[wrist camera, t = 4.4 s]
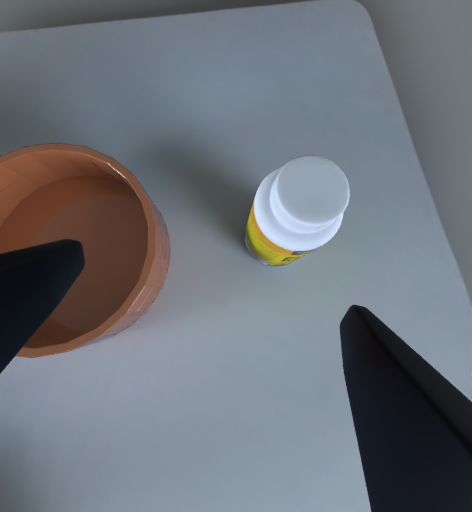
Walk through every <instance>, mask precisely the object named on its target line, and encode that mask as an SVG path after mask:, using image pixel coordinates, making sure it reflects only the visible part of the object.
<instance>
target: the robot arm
mask: <svg viewBox="0 0 472 512" xmlns="http://www.w3.org/2000/svg"><path fill="white" fill-rule="evenodd" d="M84 266H85V258H84V252H83V246H82V243H81V242H80V241H76V240H72V239H62V240H58V241H54V242H49V243H45V244H41V245H36V246H32V247H27V248H23V249H19V250H14V251H10V252H6V253H1V254H0V373H1V372H2V371H3V370H4V369H5V367H6V366H7V365H8V364H9V363H10V362H11V360H12V359H13V358H14V357H15V356H16V355H17V353H18V352H19V351H20V350H21V349H22V348H23V346H24V345H25V344H26V343H27V342H28V341H29V339H30V338H31V337H32V336H33V335H34V334H35V332H36V331H37V330H38V329H39V328H40V327H41V325H42V324H43V323H44V322H45V321H46V320H47V318H48V317H49V316H50V315H51V314H52V313H53V311H54V310H55V309H56V308H57V306H58V305H59V304H60V302H61V301H62V300H63V298H64V297H65V295H66V294H67V292H68V291H69V289H70V288H71V287H72V285H73V284H74V282H75V281H76V279H77V278H78V276H79V275H80V273H81V272H82V271H83V269H84ZM340 336H341V348H342V359H343V369H344V376H345V381H346V386H347V391H348V396H349V401H350V406H351V411H352V416H353V421H354V426H355V431H356V436H357V441H358V446H359V451H360V456H361V461H362V466H363V471H364V476H365V481H366V486H367V491H368V496H369V501H370V506H371V511H372V512H472V402H471V401H470V400H469V399H468V398H467V397H466V396H465V395H463V394H462V393H461V392H460V391H459V390H458V389H457V388H456V387H454V386H453V385H452V384H451V383H450V382H449V381H448V380H447V379H445V378H444V377H443V376H442V375H441V374H440V373H439V372H438V371H437V370H435V369H434V368H433V367H432V366H431V365H430V364H429V363H428V362H426V361H425V360H424V359H423V358H422V357H421V356H420V355H419V354H418V353H416V352H415V351H414V350H413V349H412V348H411V347H410V346H409V345H407V344H406V343H405V342H404V341H403V340H402V339H401V338H400V337H398V336H397V335H396V334H395V333H394V332H393V331H392V330H391V329H390V328H388V327H387V326H386V325H385V324H384V323H383V322H382V321H381V320H379V319H378V318H377V317H376V316H375V315H374V314H373V313H372V312H371V311H369V310H368V309H367V308H366V307H363V306H358V305H352V306H351V307H350V308H349V309H348V311H347V313H346V314H345V316H344V318H343V319H342V321H341V323H340Z"/></svg>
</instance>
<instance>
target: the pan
mask: <svg viewBox="0 0 472 512" xmlns="http://www.w3.org/2000/svg"><path fill="white" fill-rule="evenodd" d="M62 239H72V240H76V241H80V242H81V243H82V246H83V252H84V258H85V266H84V269H83V271H82V272H81V273H80V275H79V276H78V278H77V279H76V281H75V282H74V284H73V285H72V287H71V288H70V289H69V291H68V292H67V294H66V295H65V297H64V298H63V300H62V301H61V302H60V304H59V305H58V306H57V308H56V309H55V310H54V311H53V313H52V314H51V315H50V316H49V317H48V318H47V320H46V321H45V322H44V323H43V324H42V325H41V327H40V328H39V329H38V330H37V331H36V332H35V334H34V335H33V336H32V337H31V338H30V339H29V341H28V342H27V343H26V344H25V345H24V346H23V348H22V349H21V350H20V351H19V352H18V353H17V355H16V356H19V357H28V358H37V357H42V356H48V355H53V354H59V353H64V352H69V351H72V350H75V349H78V348H81V347H84V346H87V345H90V344H93V343H97V342H99V341H101V340H103V339H106V338H108V337H110V336H113V335H115V334H117V333H118V332H120V331H122V330H124V329H125V328H127V327H128V326H130V325H131V324H132V323H134V322H135V321H136V320H137V319H138V318H139V317H140V316H141V315H142V314H144V313H145V311H146V310H147V309H148V308H149V307H150V305H151V304H152V303H153V301H154V300H155V298H156V297H157V295H158V293H159V291H160V289H161V287H162V285H163V283H164V280H165V277H166V274H167V271H168V265H169V258H170V244H169V236H168V232H167V228H166V225H165V222H164V220H163V217H162V215H161V213H160V212H159V210H158V209H157V207H156V206H155V204H154V203H153V201H152V200H151V198H150V197H149V195H148V194H147V193H146V191H145V190H144V189H143V187H142V186H141V184H140V183H139V182H138V180H137V179H136V177H135V176H134V175H133V174H132V173H131V172H129V171H128V170H127V169H126V168H124V167H123V166H122V165H121V164H120V163H118V162H117V161H116V160H115V159H113V158H112V157H110V156H107V155H105V154H102V153H100V152H98V151H95V150H93V149H90V148H88V147H85V146H78V145H70V144H62V143H51V144H42V145H34V146H27V147H23V148H20V149H18V150H15V151H12V152H10V153H7V154H5V155H2V156H0V254H1V253H6V252H10V251H14V250H19V249H23V248H27V247H32V246H36V245H41V244H45V243H49V242H54V241H58V240H62Z"/></svg>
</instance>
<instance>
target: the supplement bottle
mask: <svg viewBox="0 0 472 512" xmlns="http://www.w3.org/2000/svg"><path fill="white" fill-rule="evenodd" d="M349 197H350V189H349V184H348V181H347V178H346V176H345V174H344V173H343V171H342V170H341V169H340V168H339V167H338V166H337V165H336V164H335V163H333V162H332V161H330V160H328V159H326V158H324V157H320V156H316V155H305V156H300V157H297V158H294V159H293V160H291V161H289V162H288V163H286V165H284V166H283V167H280V168H278V169H276V170H274V171H273V172H271V173H270V174H269V175H268V176H267V177H266V178H265V179H264V180H263V181H262V183H261V184H260V186H259V188H258V190H257V192H256V195H255V198H254V202H253V205H252V208H251V212H250V215H249V218H248V222H247V225H246V228H245V243H246V246H247V248H248V250H249V252H250V253H251V255H252V256H253V257H254V258H255V259H256V260H258V261H259V262H261V263H263V264H265V265H268V266H284V265H287V264H289V263H291V262H293V261H295V260H297V259H299V258H300V257H302V256H304V255H306V254H308V253H310V252H311V251H313V250H315V249H317V248H319V247H320V246H322V245H324V244H325V243H326V242H328V241H329V240H330V239H331V238H332V237H333V236H334V235H335V234H336V232H337V231H338V229H339V227H340V225H341V222H342V218H343V212H344V210H345V209H346V207H347V205H348V202H349Z"/></svg>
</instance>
